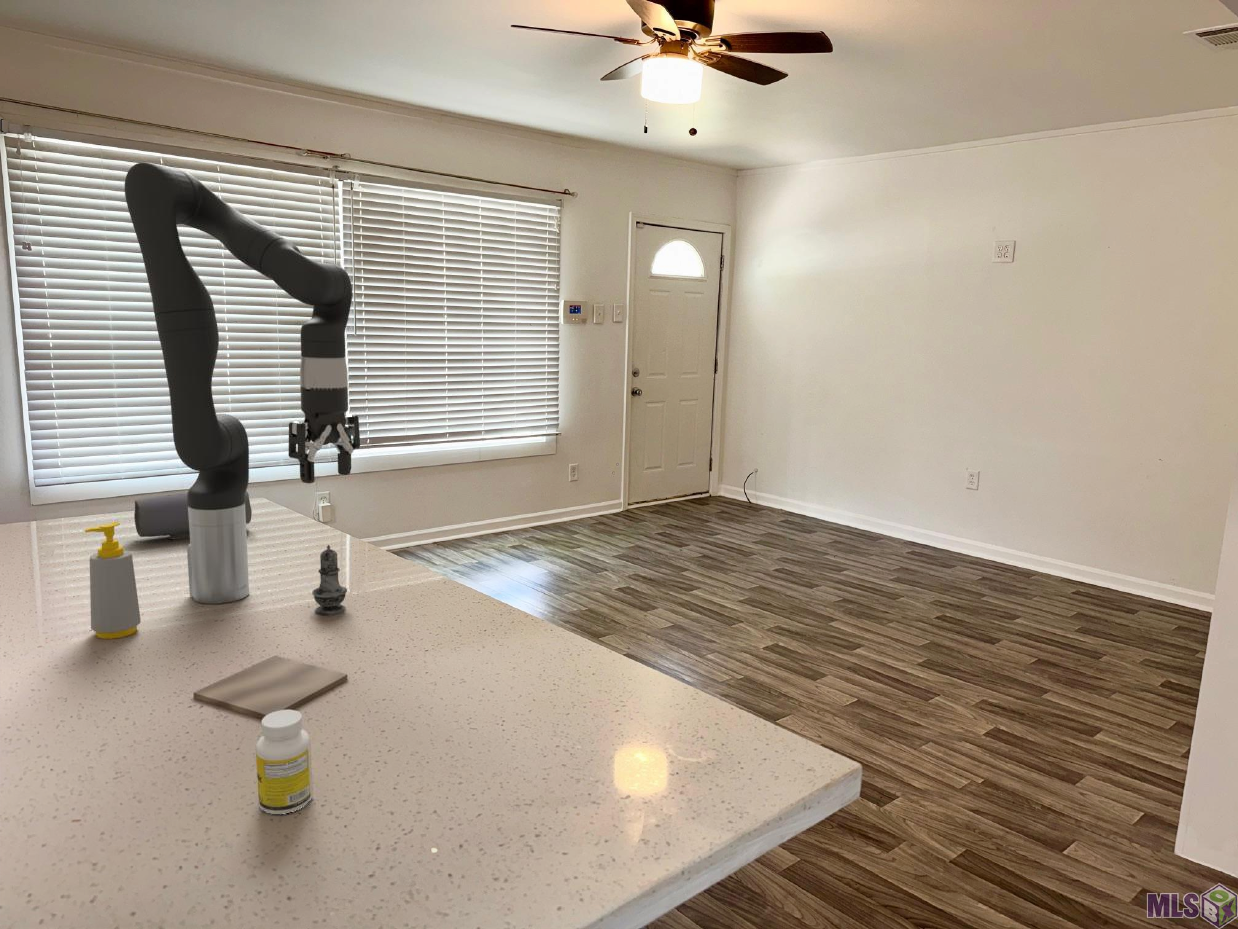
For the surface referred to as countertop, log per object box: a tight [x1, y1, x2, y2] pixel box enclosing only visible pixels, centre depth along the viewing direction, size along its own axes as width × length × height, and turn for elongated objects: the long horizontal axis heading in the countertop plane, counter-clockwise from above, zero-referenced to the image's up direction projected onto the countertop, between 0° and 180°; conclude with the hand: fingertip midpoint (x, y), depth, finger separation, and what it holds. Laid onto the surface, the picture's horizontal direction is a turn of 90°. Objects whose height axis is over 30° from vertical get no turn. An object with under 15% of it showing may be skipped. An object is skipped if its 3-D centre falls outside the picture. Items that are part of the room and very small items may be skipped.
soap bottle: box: [84, 521, 142, 640], centre depth 129 cm, size 7×7×18 cm
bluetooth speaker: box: [133, 490, 253, 540], centre depth 187 cm, size 23×9×10 cm, turn 130°
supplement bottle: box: [255, 709, 314, 815], centre depth 87 cm, size 5×5×10 cm
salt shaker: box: [311, 544, 348, 617], centre depth 143 cm, size 6×6×12 cm
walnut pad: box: [193, 655, 349, 720], centre depth 114 cm, size 14×14×1 cm
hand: (326, 478), depth 140 cm, fingers open, 8 cm apart
